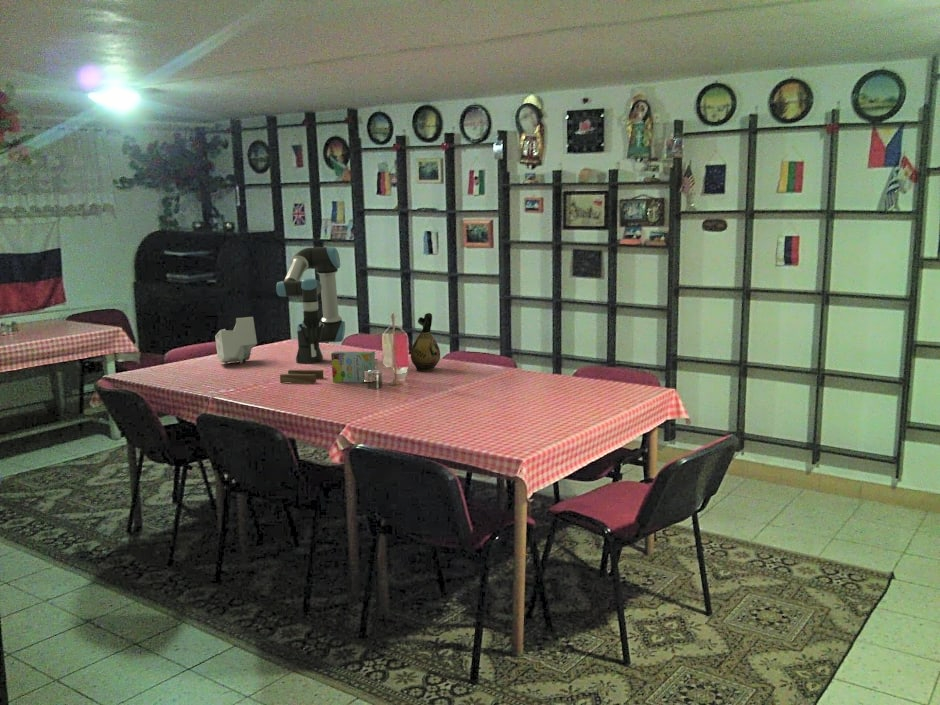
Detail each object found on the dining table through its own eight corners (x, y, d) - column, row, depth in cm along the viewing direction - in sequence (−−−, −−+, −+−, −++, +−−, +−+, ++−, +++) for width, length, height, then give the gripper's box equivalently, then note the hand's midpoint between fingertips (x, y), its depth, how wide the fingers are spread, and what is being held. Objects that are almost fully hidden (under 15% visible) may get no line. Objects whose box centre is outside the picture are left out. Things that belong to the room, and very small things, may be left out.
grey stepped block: (222, 363, 462) (216, 319, 465) (217, 369, 476) (211, 326, 479) (259, 360, 471) (253, 316, 474) (253, 365, 485) (246, 323, 488)
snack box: (376, 380, 420) (374, 351, 417) (372, 383, 415) (371, 353, 412) (336, 380, 425) (334, 350, 422) (332, 382, 419) (330, 352, 417)
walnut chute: (290, 377, 434) (289, 369, 433) (323, 377, 431) (323, 370, 430) (280, 382, 421) (279, 375, 421) (314, 383, 418) (314, 375, 417)
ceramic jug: (433, 373, 433) (431, 316, 428) (406, 372, 439) (404, 315, 433) (446, 367, 448) (444, 311, 443) (420, 365, 454) (418, 310, 449)
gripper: (295, 311, 416) (298, 357, 420) (320, 311, 413) (323, 358, 418) (301, 308, 423) (304, 354, 428) (325, 308, 421) (328, 355, 425)
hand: (314, 356), depth 423 cm, fingers closed
